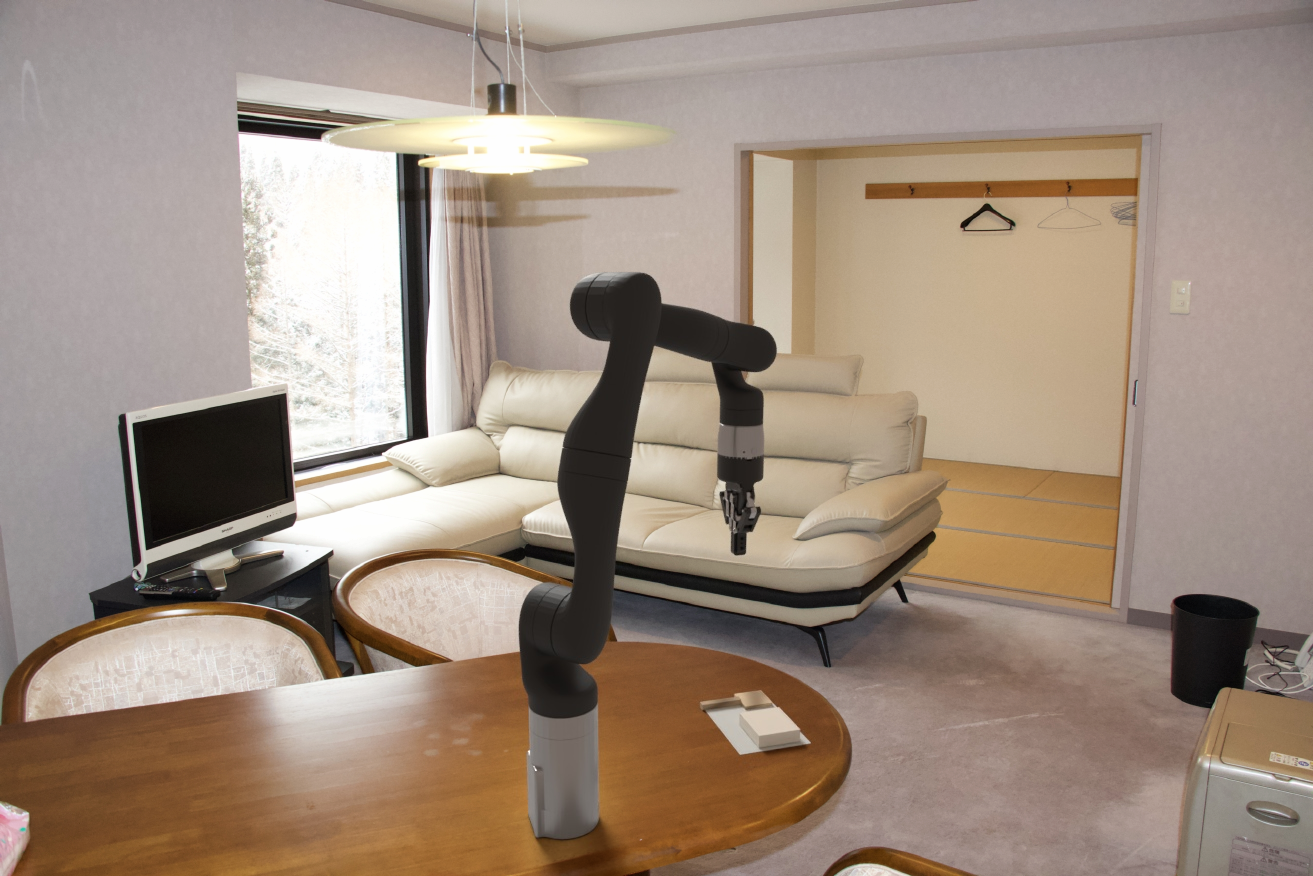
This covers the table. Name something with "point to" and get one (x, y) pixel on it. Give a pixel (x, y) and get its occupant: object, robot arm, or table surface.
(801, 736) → the mat
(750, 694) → the turner
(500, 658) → the table surface
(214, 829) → the table surface
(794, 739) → the tile
